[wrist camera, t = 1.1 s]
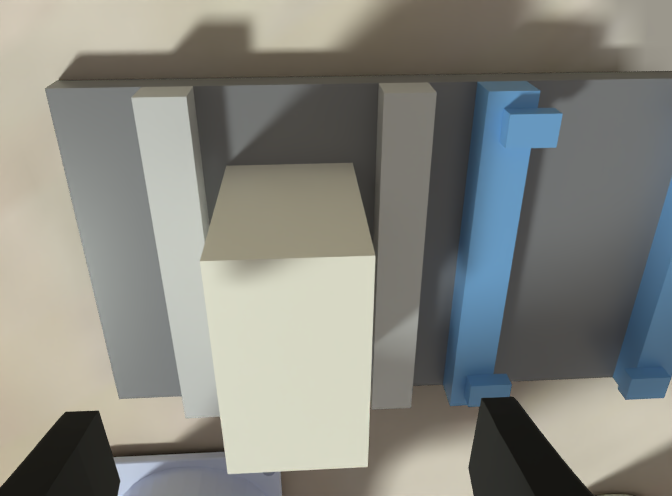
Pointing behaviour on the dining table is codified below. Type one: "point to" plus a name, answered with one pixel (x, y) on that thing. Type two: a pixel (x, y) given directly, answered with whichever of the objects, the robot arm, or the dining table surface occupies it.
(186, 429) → the dining table surface
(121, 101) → the board
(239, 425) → the tall cream block
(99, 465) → the robot arm
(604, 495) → the milk bottle
